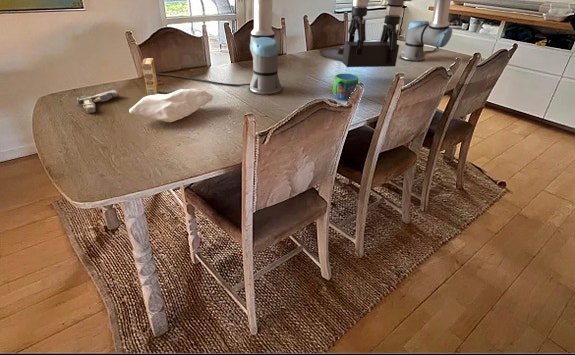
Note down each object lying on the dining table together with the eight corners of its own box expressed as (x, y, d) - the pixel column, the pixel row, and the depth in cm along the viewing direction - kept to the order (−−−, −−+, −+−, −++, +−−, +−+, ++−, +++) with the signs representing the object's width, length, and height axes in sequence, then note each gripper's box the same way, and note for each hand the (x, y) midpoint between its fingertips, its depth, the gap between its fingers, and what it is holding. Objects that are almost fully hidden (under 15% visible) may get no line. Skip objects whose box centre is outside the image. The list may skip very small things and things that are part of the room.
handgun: (128, 97, 156) (111, 87, 164) (86, 107, 144) (70, 97, 152) (129, 103, 157) (113, 94, 165) (88, 114, 146) (72, 103, 154)
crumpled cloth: (117, 110, 146) (113, 90, 140) (195, 92, 166) (194, 73, 160) (143, 139, 134) (140, 118, 128) (223, 116, 154) (224, 96, 148)
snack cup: (349, 91, 180) (352, 71, 174) (364, 98, 172) (367, 77, 167) (324, 97, 172) (326, 75, 167) (338, 104, 165) (341, 82, 159)
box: (347, 67, 188) (349, 45, 182) (342, 62, 195) (344, 41, 190) (395, 66, 192) (399, 45, 186) (388, 62, 200) (392, 41, 194)
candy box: (157, 97, 164) (152, 63, 155) (147, 98, 163) (141, 63, 155) (158, 91, 171) (153, 57, 163) (149, 91, 170) (143, 58, 162)
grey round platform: (383, 57, 237) (385, 42, 233) (344, 64, 220) (345, 48, 215) (347, 49, 262) (348, 36, 257) (309, 54, 245) (309, 40, 240)
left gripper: (376, 10, 168) (369, 57, 179) (358, 3, 188) (353, 45, 200) (361, 10, 166) (355, 57, 178) (345, 3, 187) (340, 45, 198)
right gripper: (409, 19, 174) (400, 66, 186) (391, 11, 192) (383, 55, 204) (394, 19, 173) (386, 66, 185) (378, 11, 190) (371, 55, 203)
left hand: (354, 51), depth 189 cm, fingers open, 13 cm apart
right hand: (385, 60), depth 194 cm, fingers closed on box, 9 cm apart
